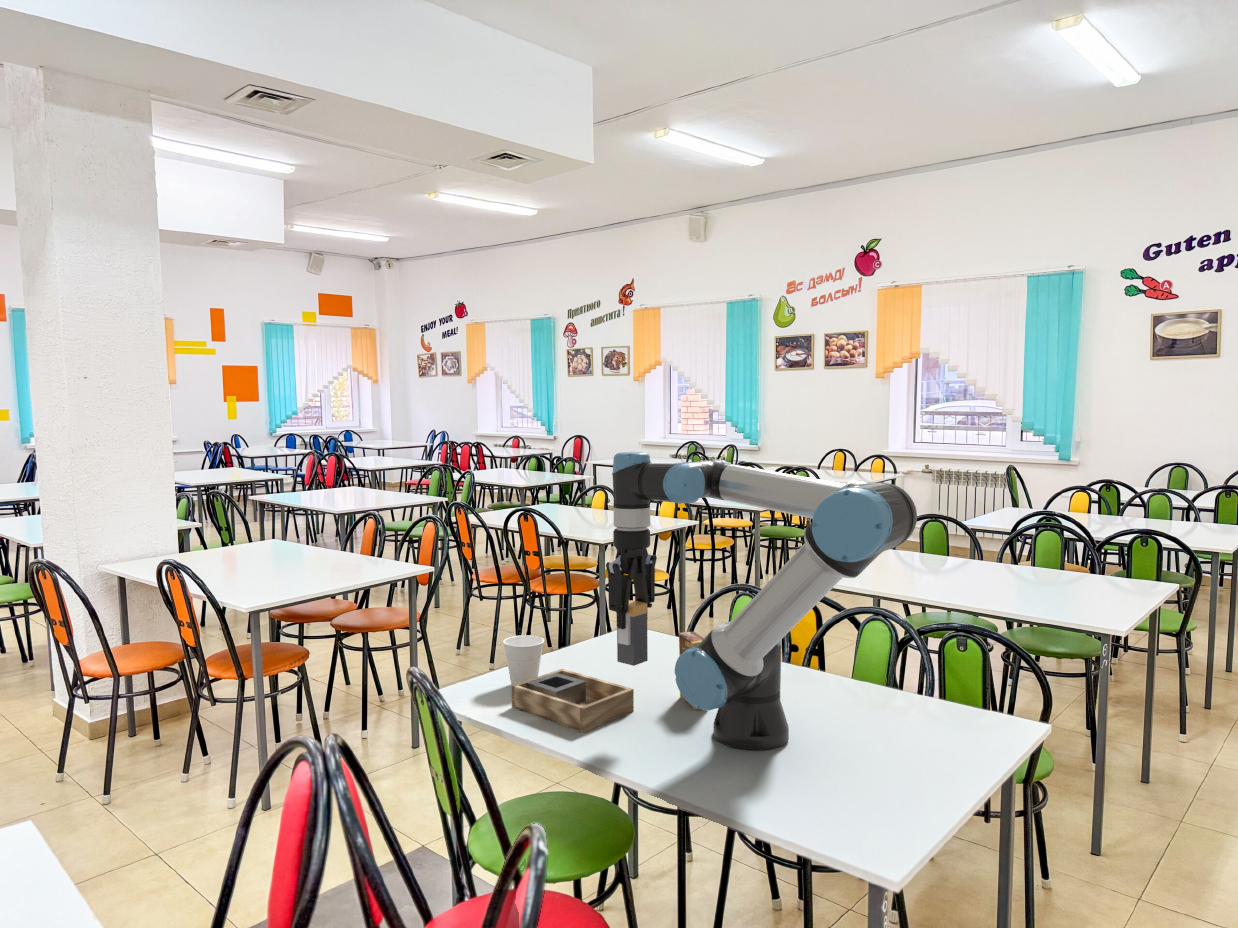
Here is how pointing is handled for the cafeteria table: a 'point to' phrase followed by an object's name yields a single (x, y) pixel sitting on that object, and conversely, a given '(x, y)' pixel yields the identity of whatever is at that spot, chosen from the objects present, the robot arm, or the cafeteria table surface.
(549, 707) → the tray
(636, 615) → the connector
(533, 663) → the cup
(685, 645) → the candy box
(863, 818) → the cafeteria table surface
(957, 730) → the cafeteria table surface
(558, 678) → the frame
